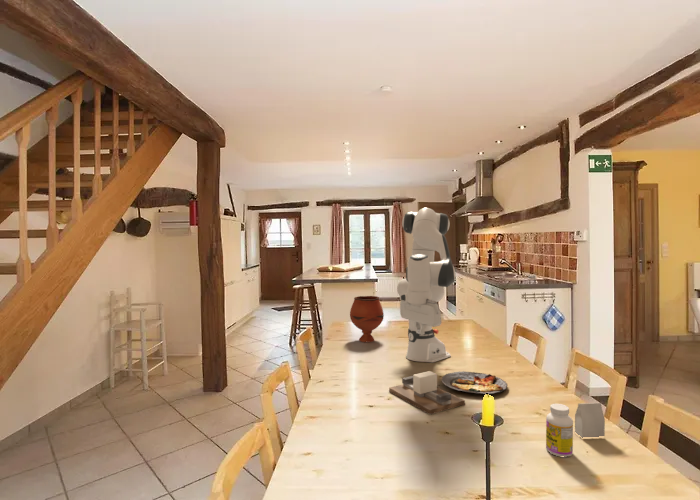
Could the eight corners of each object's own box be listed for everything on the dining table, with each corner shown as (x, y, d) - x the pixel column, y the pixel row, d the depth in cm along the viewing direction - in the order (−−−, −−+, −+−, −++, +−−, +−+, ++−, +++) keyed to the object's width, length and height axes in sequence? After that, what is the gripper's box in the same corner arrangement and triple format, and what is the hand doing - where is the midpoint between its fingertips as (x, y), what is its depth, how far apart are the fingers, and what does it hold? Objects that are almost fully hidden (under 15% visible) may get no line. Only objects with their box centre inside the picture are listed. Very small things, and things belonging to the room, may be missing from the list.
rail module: (430, 389, 158) (430, 370, 158) (437, 393, 155) (437, 373, 155) (413, 394, 155) (413, 374, 154) (420, 397, 151) (420, 377, 151)
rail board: (421, 383, 169) (421, 372, 169) (464, 404, 148) (464, 392, 148) (389, 391, 161) (389, 379, 161) (429, 414, 140) (429, 401, 140)
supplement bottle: (541, 446, 119) (541, 402, 118) (563, 445, 119) (563, 401, 119) (554, 459, 112) (555, 412, 111) (578, 457, 112) (578, 411, 112)
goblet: (389, 338, 241) (389, 296, 240) (373, 346, 225) (372, 300, 224) (361, 334, 252) (360, 293, 251) (343, 342, 236) (343, 298, 235)
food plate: (506, 380, 173) (506, 371, 172) (508, 402, 151) (508, 392, 150) (445, 374, 181) (445, 366, 180) (438, 394, 159) (438, 385, 158)
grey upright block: (604, 439, 123) (604, 405, 122) (582, 439, 122) (582, 406, 122) (596, 433, 126) (596, 400, 126) (574, 433, 126) (575, 401, 126)
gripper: (445, 300, 149) (445, 338, 150) (409, 293, 167) (410, 327, 168) (431, 302, 146) (432, 341, 147) (396, 295, 164) (397, 329, 165)
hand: (420, 333), depth 157 cm, fingers closed
